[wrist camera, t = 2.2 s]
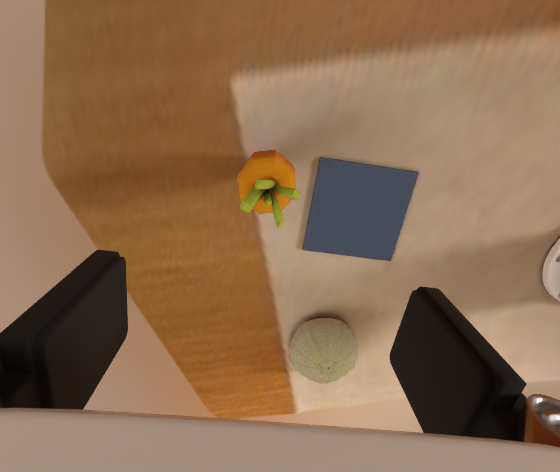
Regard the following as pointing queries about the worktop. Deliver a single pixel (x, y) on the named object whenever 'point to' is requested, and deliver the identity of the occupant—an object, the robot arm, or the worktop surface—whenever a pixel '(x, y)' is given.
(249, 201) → the carrot
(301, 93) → the worktop surface
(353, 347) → the sea urchin shell
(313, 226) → the napkin
